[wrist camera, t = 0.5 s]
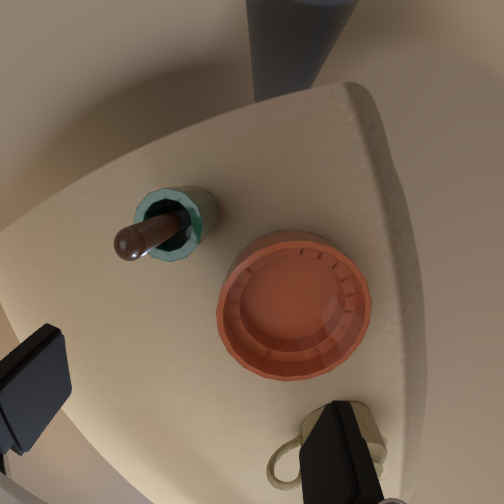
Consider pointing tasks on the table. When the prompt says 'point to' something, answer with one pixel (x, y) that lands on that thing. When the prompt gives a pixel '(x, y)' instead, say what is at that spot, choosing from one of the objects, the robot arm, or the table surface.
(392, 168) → the table surface
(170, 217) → the stirring stick
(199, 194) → the stick holder
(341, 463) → the robot arm
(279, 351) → the mixing bowl
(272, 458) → the sugar bowl
